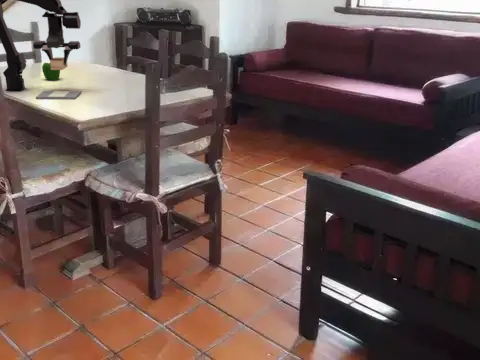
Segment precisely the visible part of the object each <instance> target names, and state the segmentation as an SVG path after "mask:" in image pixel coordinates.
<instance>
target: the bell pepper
mask: <svg viewBox="0 0 480 360" xmlns="http://www.w3.org/2000/svg"><path fill="white" fill-rule="evenodd" d="M41 68H42V73H43V76H44V78H45V79H46V80H48V81H56V80H57V81H58V80H59V79H60V74H61V70H51V66H50V62H44V63H42V66H41Z"/></svg>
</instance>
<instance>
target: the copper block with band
mask: <svg viewBox="0 0 480 360" xmlns="http://www.w3.org/2000/svg"><path fill="white" fill-rule="evenodd" d="M49 63H50V66H51V70H60V71H63V70H65V69H66V68H68V62H67V63H66V65H64V56H63V57H61V56H56V57H53V59H51V60H49Z"/></svg>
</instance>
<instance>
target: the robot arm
mask: <svg viewBox="0 0 480 360" xmlns="http://www.w3.org/2000/svg"><path fill="white" fill-rule="evenodd" d="M7 1H9V0H0V42H1V44H2V47H3V50H4V51H5V54H6V55H5V57H6V58H5V59H6V65H7V67H6V69H5V70H4V71H3V73H2V74H3V77H5V84H6V89H5V91H7V92H10V91H11V92H13V91H14V92H17V91H18V92H20V91H23V90H24V89H26V87H25V78H23V71H24V70H25V69H26V67H27V62H28V61H27V60H26V58H25V55H24V53H23V52H21V53H19V51H18V50H17V47H16V45H15V43H14V40H13V38H12V35H11V32H10V31H9V28H8V25H7V23H6V21H5V17H4V9H3V5H4V4H5V3H7ZM16 1H17V2H21V3H26V4H30V5H34V6H37V7H39V8H41V9H43V10H45V12H44V14H42V15H41V17H42V18H47V27H48V31H47V37H46V39H45V40H36V41H34V42H32V43H33V44H32V45H33V49H34V50H36V49H37V50H40V49H41V51H42V52H44V53H45V54H46V55H47V58H48V59H49V61H50V60H51V59H53V58H54V55H53V49H54V48H55V49H59V48H64V49H63V57H64V65H66V63H67V64H68V59H69V55H70V53H71V52H72V51H73V50H79V49H81V43H80V41H79V40H75V41H73V40H70V41H68V42H65V38H64V30H63V27H64V28H65V29H73V30H77V29H78V30H79V29H81V25H82V24H81V19H80V15H79V12H78V11H74V12H71V11H70V12H69V11H67V10H66V9H65V8H64V6H63V5H62V2H61V0H16ZM52 48H53V49H52Z"/></svg>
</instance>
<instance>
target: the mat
mask: <svg viewBox="0 0 480 360" xmlns="http://www.w3.org/2000/svg"><path fill="white" fill-rule="evenodd" d="M81 94H82V91H81V90H80V91H79V90H75V91H73V90H72V91H70V90H67V91H65V90H44V91H42V92H41V93H39V94H38V95H36V96H35V99H36V100H77V98H78V97H79V96H81Z"/></svg>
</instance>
